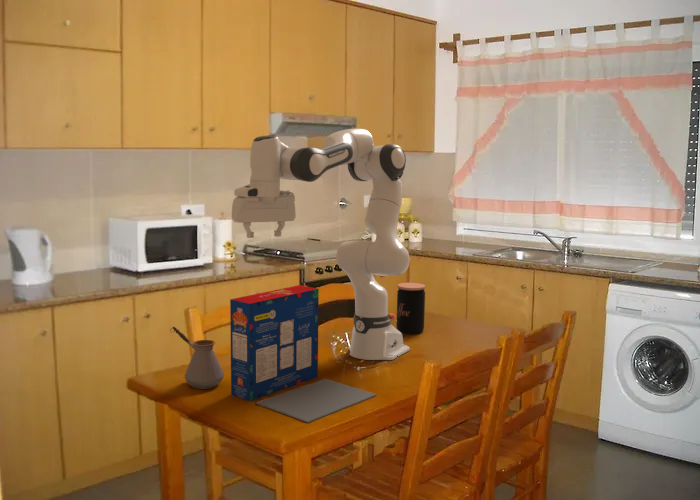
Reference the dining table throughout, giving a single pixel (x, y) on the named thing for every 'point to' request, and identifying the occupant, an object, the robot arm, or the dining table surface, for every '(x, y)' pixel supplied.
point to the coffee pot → (202, 364)
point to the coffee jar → (410, 308)
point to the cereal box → (273, 341)
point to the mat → (316, 400)
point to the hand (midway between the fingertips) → (264, 237)
